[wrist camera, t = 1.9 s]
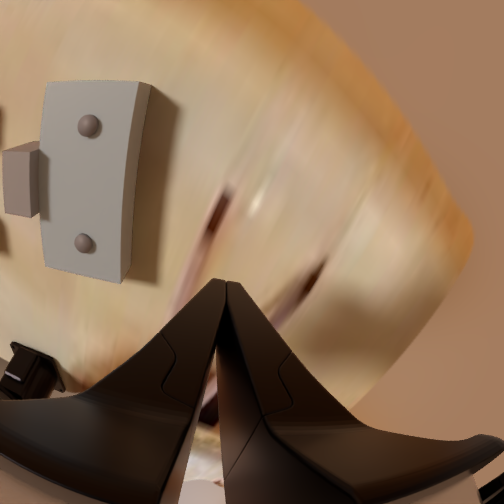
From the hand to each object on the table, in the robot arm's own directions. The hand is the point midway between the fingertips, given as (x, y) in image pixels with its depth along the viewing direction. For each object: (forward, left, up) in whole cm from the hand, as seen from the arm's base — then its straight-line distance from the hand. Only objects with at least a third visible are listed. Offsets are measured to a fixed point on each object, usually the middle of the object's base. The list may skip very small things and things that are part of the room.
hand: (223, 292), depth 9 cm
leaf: (0, +10, -10) cm, 14 cm away
